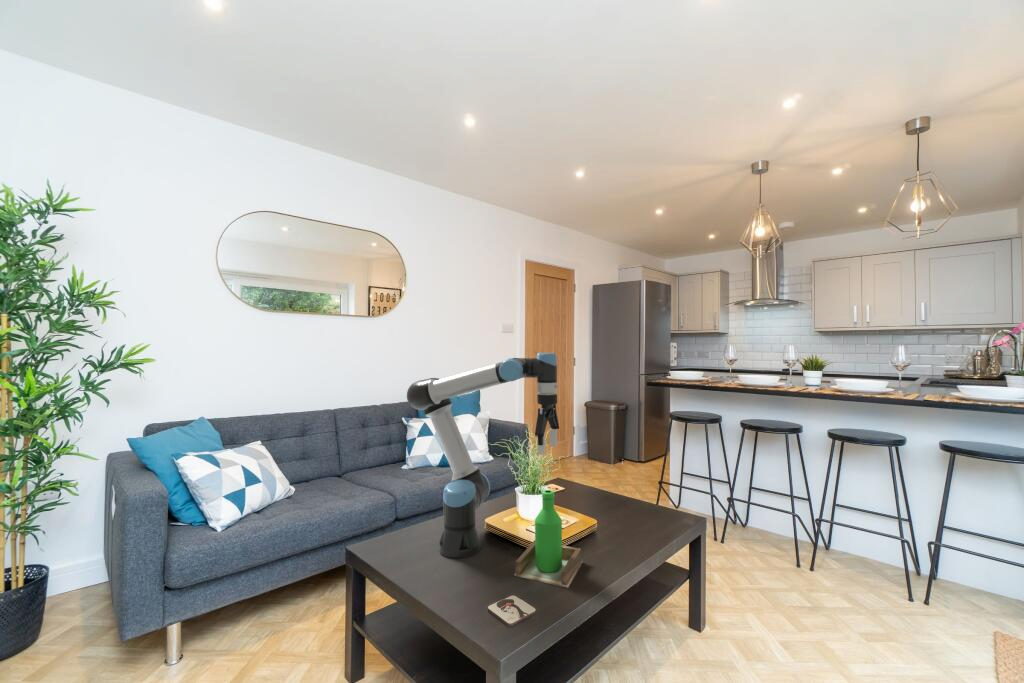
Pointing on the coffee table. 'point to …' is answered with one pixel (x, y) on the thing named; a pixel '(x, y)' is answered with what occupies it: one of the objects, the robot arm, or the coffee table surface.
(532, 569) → the u rest
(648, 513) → the coffee table surface
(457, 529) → the robot arm
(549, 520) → the bottle
